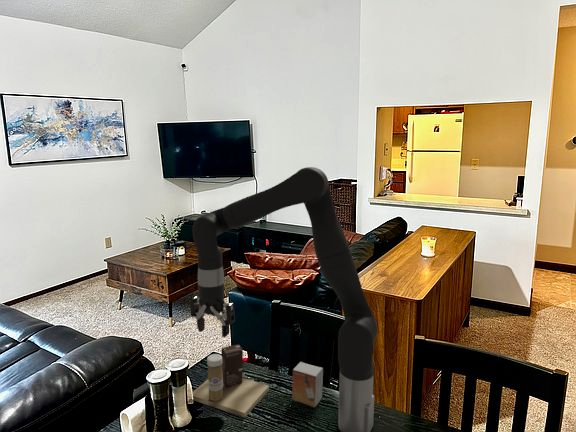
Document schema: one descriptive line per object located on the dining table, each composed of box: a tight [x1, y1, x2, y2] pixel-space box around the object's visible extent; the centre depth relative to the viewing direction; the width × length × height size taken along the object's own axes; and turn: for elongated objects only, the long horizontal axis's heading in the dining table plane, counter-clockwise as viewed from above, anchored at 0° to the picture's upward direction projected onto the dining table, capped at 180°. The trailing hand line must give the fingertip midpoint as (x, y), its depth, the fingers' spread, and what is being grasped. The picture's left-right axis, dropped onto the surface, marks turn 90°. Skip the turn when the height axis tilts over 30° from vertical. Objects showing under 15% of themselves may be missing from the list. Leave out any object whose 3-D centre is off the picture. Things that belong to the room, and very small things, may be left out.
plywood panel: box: [192, 377, 270, 418], centre depth 133 cm, size 20×15×2 cm
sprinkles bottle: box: [206, 353, 223, 401], centre depth 128 cm, size 5×5×13 cm
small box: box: [291, 361, 324, 408], centre depth 130 cm, size 8×6×10 cm
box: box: [221, 343, 244, 387], centre depth 136 cm, size 6×4×12 cm
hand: (213, 333), depth 125 cm, fingers open, 8 cm apart
